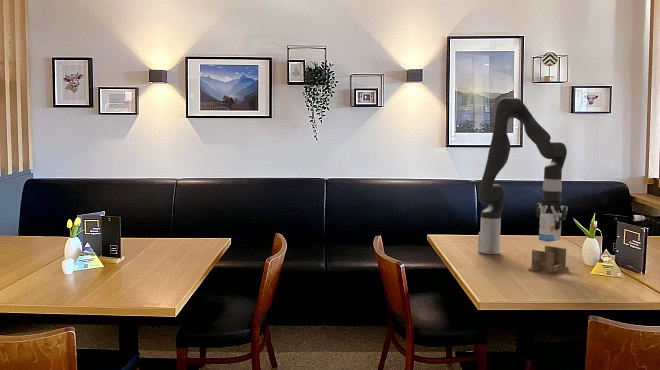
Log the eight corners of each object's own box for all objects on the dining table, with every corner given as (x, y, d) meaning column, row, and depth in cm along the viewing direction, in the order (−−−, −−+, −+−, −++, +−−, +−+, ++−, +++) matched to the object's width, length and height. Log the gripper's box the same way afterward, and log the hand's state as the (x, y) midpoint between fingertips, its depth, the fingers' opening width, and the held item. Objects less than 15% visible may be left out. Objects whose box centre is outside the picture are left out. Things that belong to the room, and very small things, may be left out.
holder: (528, 270, 256) (529, 249, 255) (543, 264, 266) (544, 244, 265) (553, 275, 248) (554, 254, 247) (568, 269, 259) (569, 248, 258)
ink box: (548, 242, 251) (550, 207, 250) (538, 240, 256) (539, 206, 254) (560, 240, 256) (562, 205, 255) (550, 238, 260) (552, 204, 259)
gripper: (531, 188, 256) (530, 227, 258) (565, 191, 246) (563, 232, 248) (539, 187, 261) (538, 225, 263) (572, 190, 251) (570, 230, 253)
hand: (550, 228), depth 255 cm, fingers closed on ink box, 5 cm apart
